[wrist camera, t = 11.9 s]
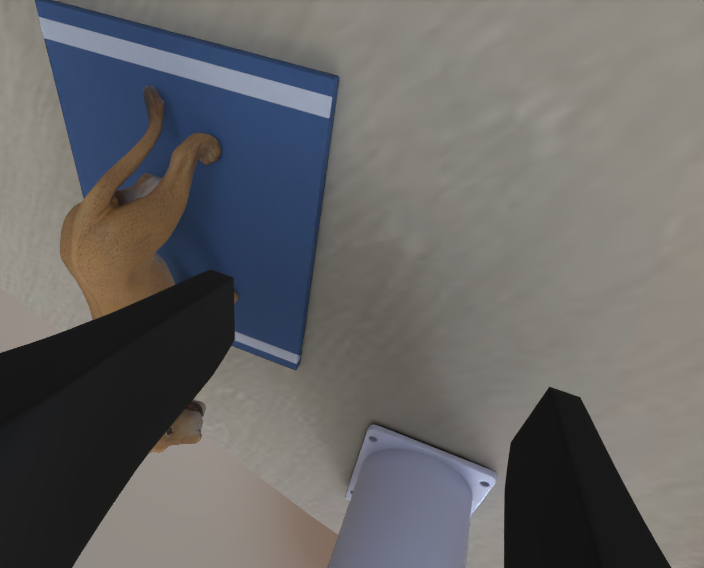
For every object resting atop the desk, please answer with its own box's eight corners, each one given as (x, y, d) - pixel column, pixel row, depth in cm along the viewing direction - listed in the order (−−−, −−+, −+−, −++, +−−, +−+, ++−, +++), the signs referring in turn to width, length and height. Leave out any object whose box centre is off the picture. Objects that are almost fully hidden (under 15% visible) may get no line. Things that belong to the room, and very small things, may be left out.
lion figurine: (272, 357, 25) (174, 502, 18) (195, 341, 26) (77, 469, 19) (211, 82, 17) (-16, 154, 10) (105, 83, 18) (-156, 146, 11)
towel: (300, 363, 25) (295, 371, 25) (115, 293, 27) (107, 298, 27) (339, 76, 16) (334, 79, 15) (46, -2, 18) (33, -1, 17)
